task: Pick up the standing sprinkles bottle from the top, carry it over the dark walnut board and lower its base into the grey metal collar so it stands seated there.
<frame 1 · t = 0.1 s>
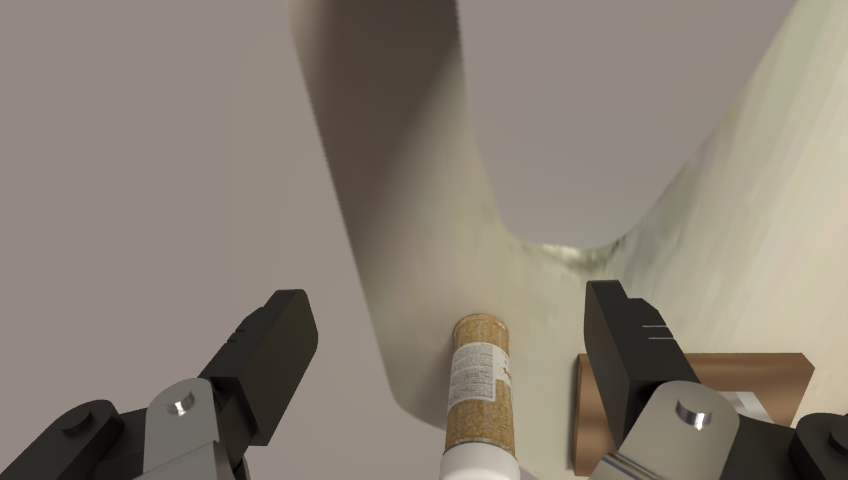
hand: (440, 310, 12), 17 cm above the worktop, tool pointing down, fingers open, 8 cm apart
socket: (672, 413, 36), on the worktop
sprinkles bottle: (481, 331, 35), on the worktop
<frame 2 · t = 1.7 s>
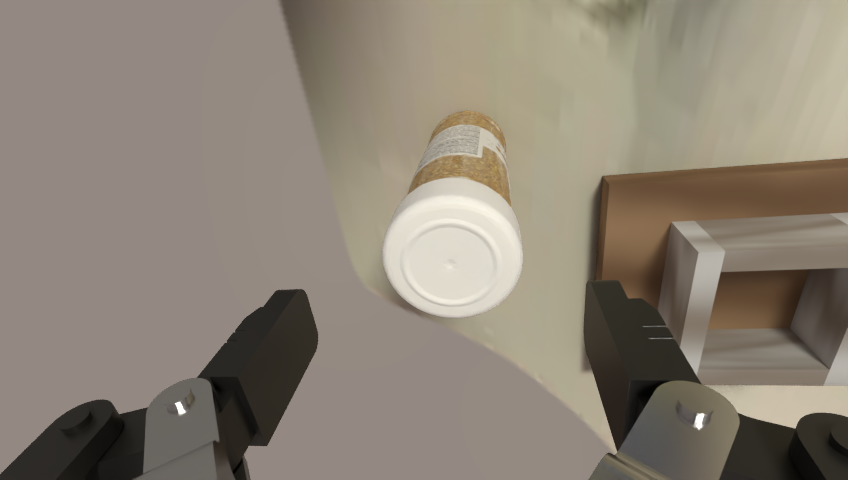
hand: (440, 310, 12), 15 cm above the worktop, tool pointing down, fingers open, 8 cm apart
socket: (729, 272, 27), on the worktop
sprinkles bottle: (466, 146, 25), on the worktop
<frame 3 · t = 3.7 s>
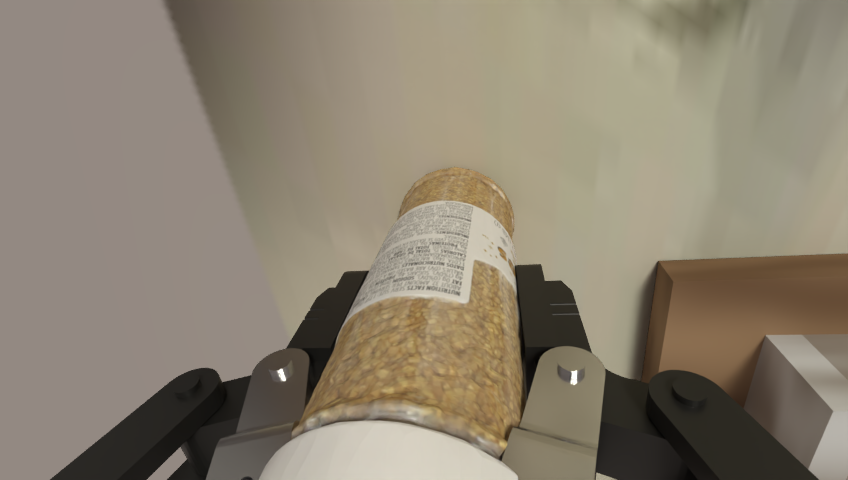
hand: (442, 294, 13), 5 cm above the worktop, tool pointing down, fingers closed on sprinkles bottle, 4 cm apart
socket: (836, 392, 18), on the worktop
sprinkles bottle: (456, 216, 17), on the worktop, touching gripper
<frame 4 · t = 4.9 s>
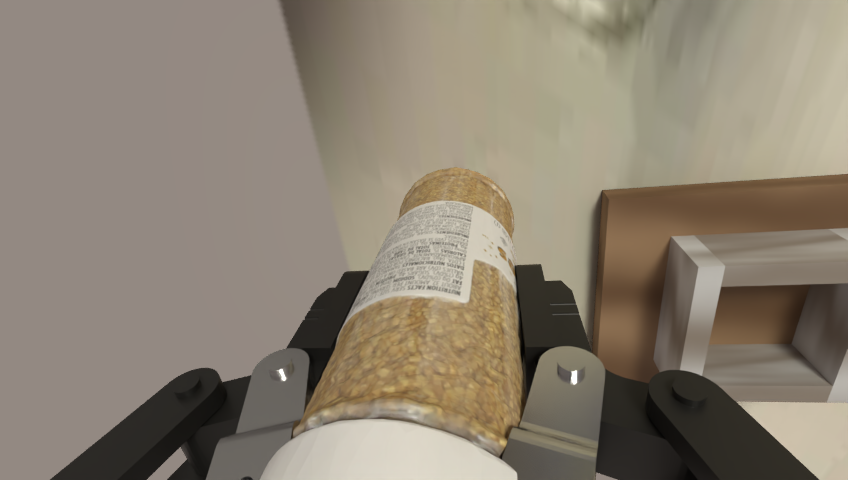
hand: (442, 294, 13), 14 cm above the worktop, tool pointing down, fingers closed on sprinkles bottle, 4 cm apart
socket: (730, 286, 27), on the worktop
sprinkles bottle: (456, 216, 17), point 9 cm above the worktop, touching gripper
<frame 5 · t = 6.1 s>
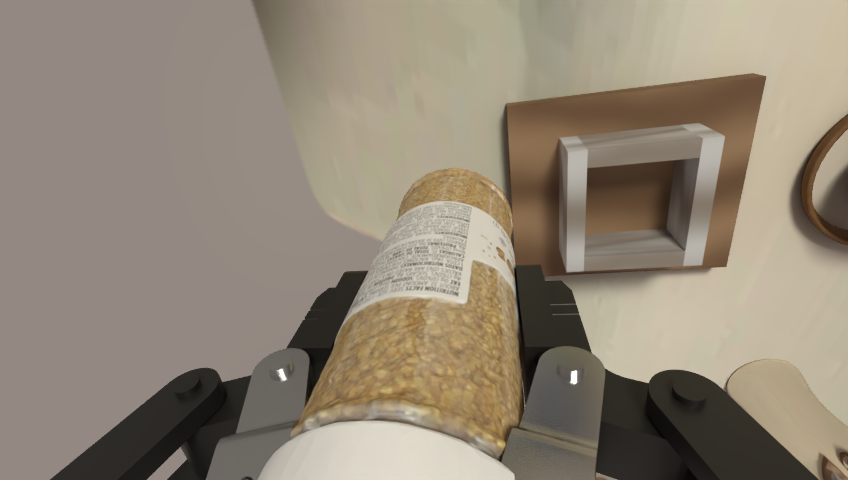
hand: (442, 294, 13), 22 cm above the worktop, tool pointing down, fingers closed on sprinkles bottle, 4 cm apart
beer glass: (761, 381, 40), on the worktop
socket: (617, 184, 32), on the worktop
sprinkles bottle: (455, 216, 17), point 17 cm above the worktop, touching gripper
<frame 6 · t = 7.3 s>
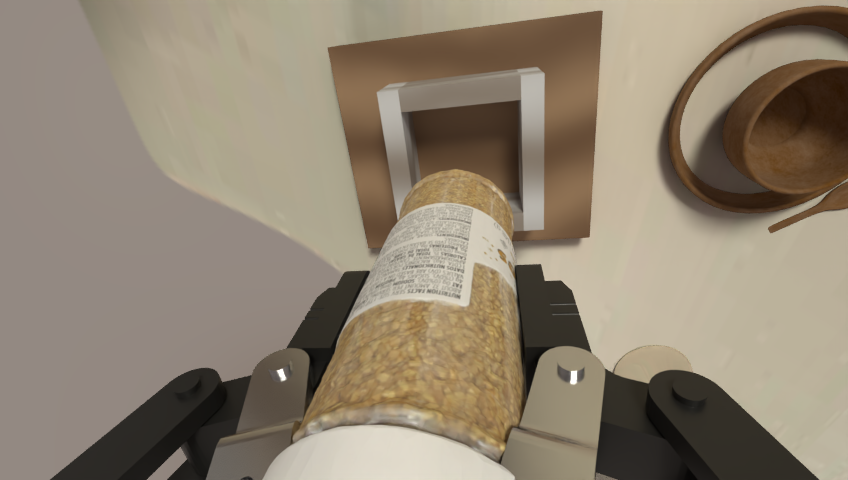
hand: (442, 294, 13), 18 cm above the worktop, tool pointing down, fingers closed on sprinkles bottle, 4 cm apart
place setting: (834, 68, 25), on the worktop
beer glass: (650, 370, 36), on the worktop
socket: (467, 142, 29), on the worktop
sprinkles bottle: (456, 217, 17), point 13 cm above the worktop, touching gripper
when the fingers open (7 cm above the worktop, at t = 9.2 s): sprinkles bottle stays where it is, resting on socket.
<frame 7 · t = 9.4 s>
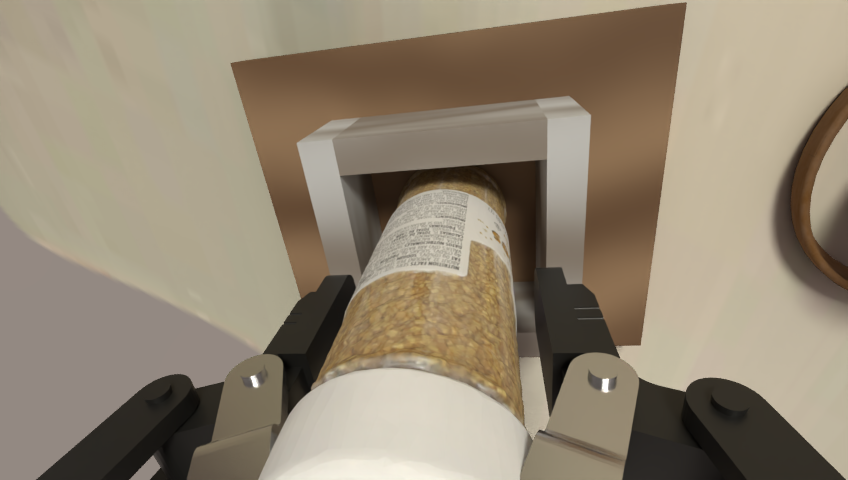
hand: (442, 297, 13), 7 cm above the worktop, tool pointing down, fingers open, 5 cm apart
socket: (457, 204, 19), on the worktop
sprinkles bottle: (451, 206, 18), point 1 cm above the worktop, touching socket
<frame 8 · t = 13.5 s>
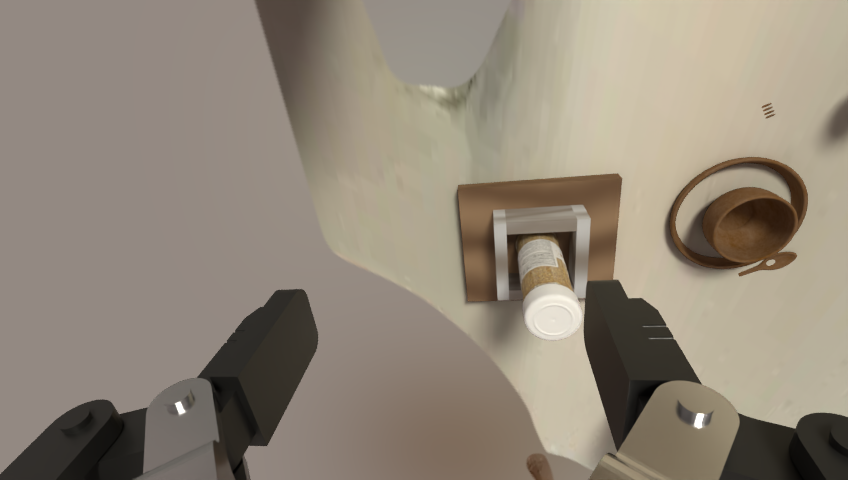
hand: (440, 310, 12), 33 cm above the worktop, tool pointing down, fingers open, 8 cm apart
place setting: (770, 188, 42), on the worktop
socket: (535, 239, 47), on the worktop
sprinkles bottle: (535, 241, 46), point 1 cm above the worktop, touching socket
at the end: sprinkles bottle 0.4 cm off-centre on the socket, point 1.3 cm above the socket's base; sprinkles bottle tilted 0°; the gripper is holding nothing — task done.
